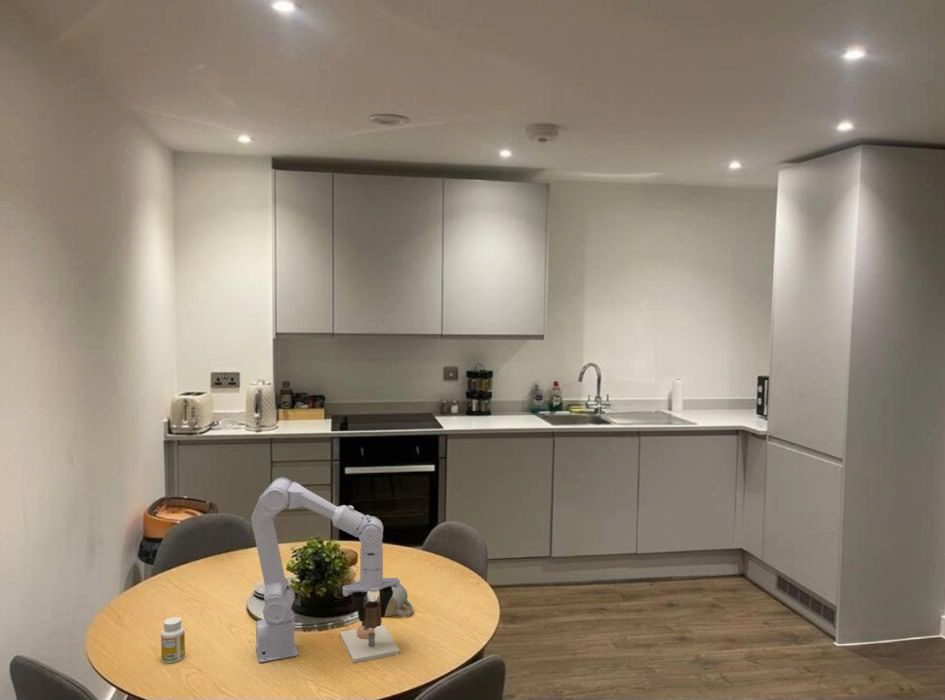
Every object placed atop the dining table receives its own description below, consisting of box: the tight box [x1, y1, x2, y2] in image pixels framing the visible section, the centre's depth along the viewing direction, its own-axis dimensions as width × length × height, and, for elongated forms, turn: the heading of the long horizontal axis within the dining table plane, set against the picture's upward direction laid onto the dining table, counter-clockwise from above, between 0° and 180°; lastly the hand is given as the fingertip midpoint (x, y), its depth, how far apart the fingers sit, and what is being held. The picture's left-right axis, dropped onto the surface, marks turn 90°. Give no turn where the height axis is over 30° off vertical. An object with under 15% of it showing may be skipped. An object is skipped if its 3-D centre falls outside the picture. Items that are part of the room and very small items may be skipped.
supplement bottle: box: [160, 616, 186, 664], centre depth 172 cm, size 5×5×10 cm
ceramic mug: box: [375, 583, 414, 617], centre depth 198 cm, size 10×8×7 cm
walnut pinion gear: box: [361, 600, 383, 629], centre depth 177 cm, size 5×5×5 cm
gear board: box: [339, 623, 401, 664], centre depth 179 cm, size 12×15×4 cm
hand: (371, 617), depth 177 cm, fingers closed on walnut pinion gear, 5 cm apart
